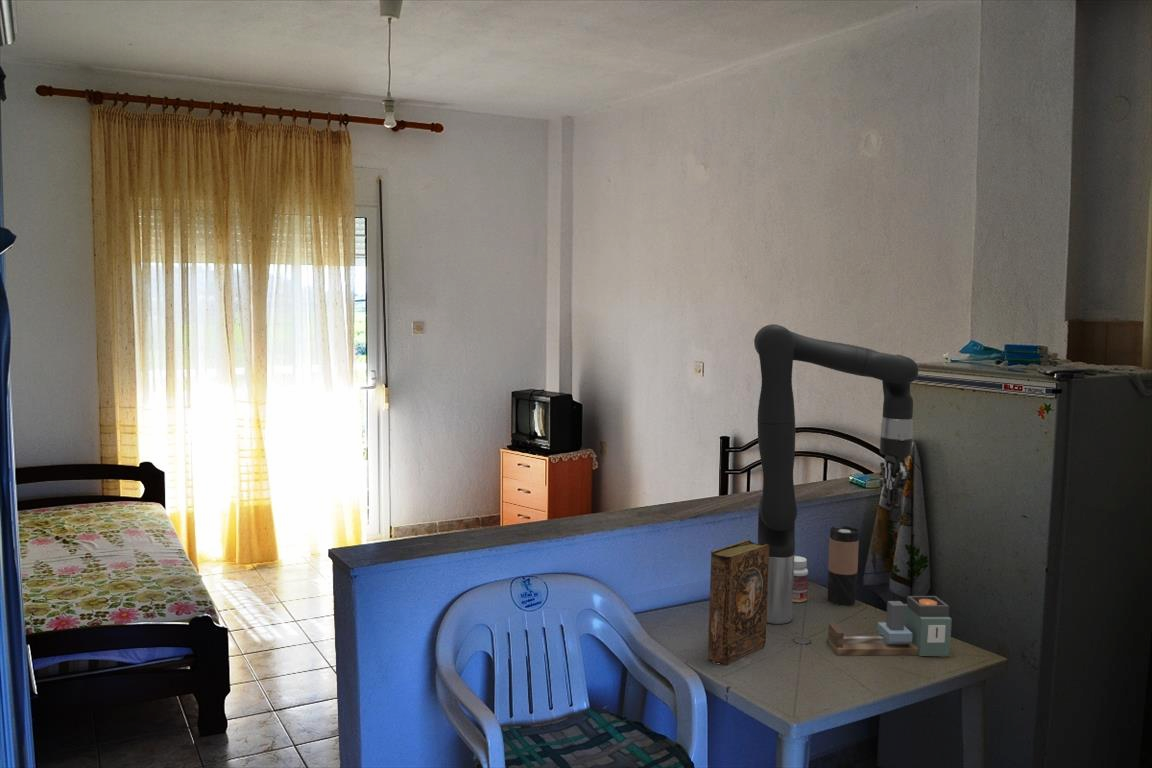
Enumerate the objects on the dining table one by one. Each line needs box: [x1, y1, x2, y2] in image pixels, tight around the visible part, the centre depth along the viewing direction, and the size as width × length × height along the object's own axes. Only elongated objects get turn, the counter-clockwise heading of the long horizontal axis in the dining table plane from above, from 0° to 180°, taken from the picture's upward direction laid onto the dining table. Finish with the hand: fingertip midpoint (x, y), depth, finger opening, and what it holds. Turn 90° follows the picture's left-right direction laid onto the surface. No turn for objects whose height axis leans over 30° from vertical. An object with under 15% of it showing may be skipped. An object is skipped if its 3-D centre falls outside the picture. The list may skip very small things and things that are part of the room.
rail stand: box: [826, 623, 919, 657], centre depth 215 cm, size 19×8×5 cm, turn 93°
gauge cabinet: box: [903, 595, 953, 658], centre depth 215 cm, size 7×10×12 cm, turn 3°
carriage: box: [876, 600, 913, 644], centre depth 215 cm, size 6×7×9 cm
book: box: [707, 539, 769, 665], centre depth 210 cm, size 16×6×25 cm, turn 134°
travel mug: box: [827, 525, 860, 606], centre depth 246 cm, size 8×8×20 cm
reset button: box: [919, 599, 937, 605], centre depth 215 cm, size 4×4×2 cm
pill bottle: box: [793, 555, 809, 603], centre depth 248 cm, size 6×6×11 cm
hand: (892, 503), depth 228 cm, fingers closed
